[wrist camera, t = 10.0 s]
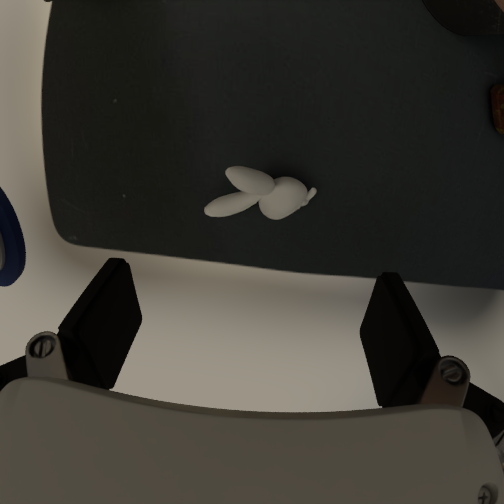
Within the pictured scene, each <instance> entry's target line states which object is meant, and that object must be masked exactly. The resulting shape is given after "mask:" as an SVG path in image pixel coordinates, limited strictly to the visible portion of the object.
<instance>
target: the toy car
mask: <svg viewBox="0 0 504 504" xmlns="http://www.w3.org/2000/svg"><path fill="white" fill-rule="evenodd" d="M493 85H494V86H493V87H492V89H491V90H490V93H491V104H492V112H493V120H494V125H495V129H496V130H497V131H498V132H499V133H501V134H503V135H504V85H501V84H493Z"/></svg>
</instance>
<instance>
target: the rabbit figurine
mask: <svg viewBox="0 0 504 504" xmlns="http://www.w3.org/2000/svg"><path fill="white" fill-rule="evenodd" d="M225 173H226V176H227V177H228V179H229V180H230V182H231V183H232V184H233V185H234V186H235V187H236V188H237V189H239V190H241V191H242V192H236V193H232V194H228V195H226V196H225V195H224V196H222V197H218V198H217V199H215V200H213V201H212V202H210V203H209V204H208V205H207V206H206V207H205V209H204V211H205V214H206V215H209V216H211V217H214V216H215V217H225V216H230V215H232V214H235V213H238V212H242V211H244V210H245V209H247V208H249V207H251V206H252V205H253V204H255V203H257V202H258V201H259V207H260V210H261V211H262V213H263V214H264V215H265V216H267V217H268V218H270V219H275V220H278V219H282V218H284V217H286V216H288V215H290V214H292V213H293V212H294V211H296V210H297V209H300V206H305V205H307V204H308V202H309V200H310V199H311V198H312V197H313V196H314V195H315V194H316V188H311V190H310V191H309V192H307V189H306V187H305V185H304V184H303V183H301V182H300V181H298V180H297V179H294V178H291V177H280V178H277V179H274V180H273V178H272V177H271V176H269V175H268V174H266V173H264V172H261V171H258V170H255V169H252V168H248V167H244V166H233V167H229V168H227V170H226V172H225Z"/></svg>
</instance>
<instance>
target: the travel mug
mask: <svg viewBox="0 0 504 504" xmlns="http://www.w3.org/2000/svg"><path fill="white" fill-rule="evenodd" d="M423 2H424V4H425V5H426V7H427V9H428V10H429V12H430V13H431V14H432V15H433V16H434V18H435V19H436V20H437V21H438V22H439V23H441V24H442V25H443V26H444V27H446V28H447V29H449V30H450V31H452V32H454V33H457V34H460V35H493V34H504V0H423Z"/></svg>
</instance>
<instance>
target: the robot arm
mask: <svg viewBox="0 0 504 504" xmlns="http://www.w3.org/2000/svg"><path fill="white" fill-rule="evenodd" d="M5 257H6V255H5V246H4V241H3V238H2V234H1V232H0V270H2V268H3V267H4V264H5ZM141 323H142V314H141V310H140V306H139V302H138V298H137V295H136V290H135V286H134V282H133V278H132V273H131V269H130V265H129V263H126V261H125V260H124V259H122V258H109V259H108V260H107V262H106V263H105V264H104V265H103V267H102V268H101V269H100V270H99V272H98V273H97V275H96V276H95V277H94V278H93V280H92V281H91V282H90V284H89V285H88V286H87V288H86V289H85V290H84V292H83V293H82V294H81V296H80V297H79V298H78V300H77V301H76V303H75V304H74V306H73V307H72V308H71V310H70V311H69V313H68V314H67V315H66V317H65V318H64V320H63V321H62V323H61V324H60V326H59V327H58V329H59V332H58V333H57V335H56V334H55V333H53V332H49V331H45V332H41V333H39V334H36V335H35V336H34V337H32V338H31V339H30V341H29V342H28V343H27V346H26V351H25V354H26V355H25V356H22V357H19V358H17V359H15V360H13V361H10V362H8V363H6V364H3V365H1V366H0V504H504V403H503V402H502V401H501V400H499V399H498V398H496V397H494V396H492V395H491V394H489V393H487V392H486V391H484V390H482V389H481V388H479V387H477V386H476V385H474V384H472V383H470V371H469V369H468V367H467V365H466V364H465V363H464V362H463V361H462V360H460V359H459V358H457V357H454V356H444V357H441V356H440V354H439V349H438V347H437V345H436V343H435V341H434V339H433V337H432V335H431V333H430V331H429V329H428V327H427V325H426V323H425V321H424V319H423V317H422V315H421V313H420V311H419V310H418V308H417V306H416V304H415V302H414V300H413V298H412V296H411V295H410V293H409V291H408V289H407V288H406V286H405V284H404V282H403V281H402V279H401V277H400V275H399V274H398V273H394V272H383V273H382V275H381V276H378V277H377V279H376V283H375V286H374V289H373V292H372V296H371V298H370V301H369V304H368V307H367V310H366V313H365V316H364V319H363V322H362V324H361V327H360V338H361V341H362V345H363V348H364V352H365V355H366V359H367V363H368V367H369V370H370V374H371V378H372V382H373V386H374V390H375V394H376V399H377V403H378V405H379V406H382V408H378V409H366V410H354V411H353V410H352V411H336V412H308V413H307V412H303V413H301V412H298V413H297V412H296V413H294V412H293V413H292V412H291V413H290V412H257V411H239V410H227V409H216V408H207V407H198V406H191V405H184V404H177V403H170V402H164V401H158V400H152V399H147V398H142V397H137V396H132V395H128V394H123V393H119V392H114V391H110V390H109V389H112V388H113V387H114V385H115V383H116V380H117V378H118V375H119V373H120V371H121V368H122V366H123V364H124V361H125V359H126V357H127V354H128V352H129V350H130V347H131V345H132V343H133V341H134V338H135V336H136V334H137V332H138V330H139V327H140V325H141Z"/></svg>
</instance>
